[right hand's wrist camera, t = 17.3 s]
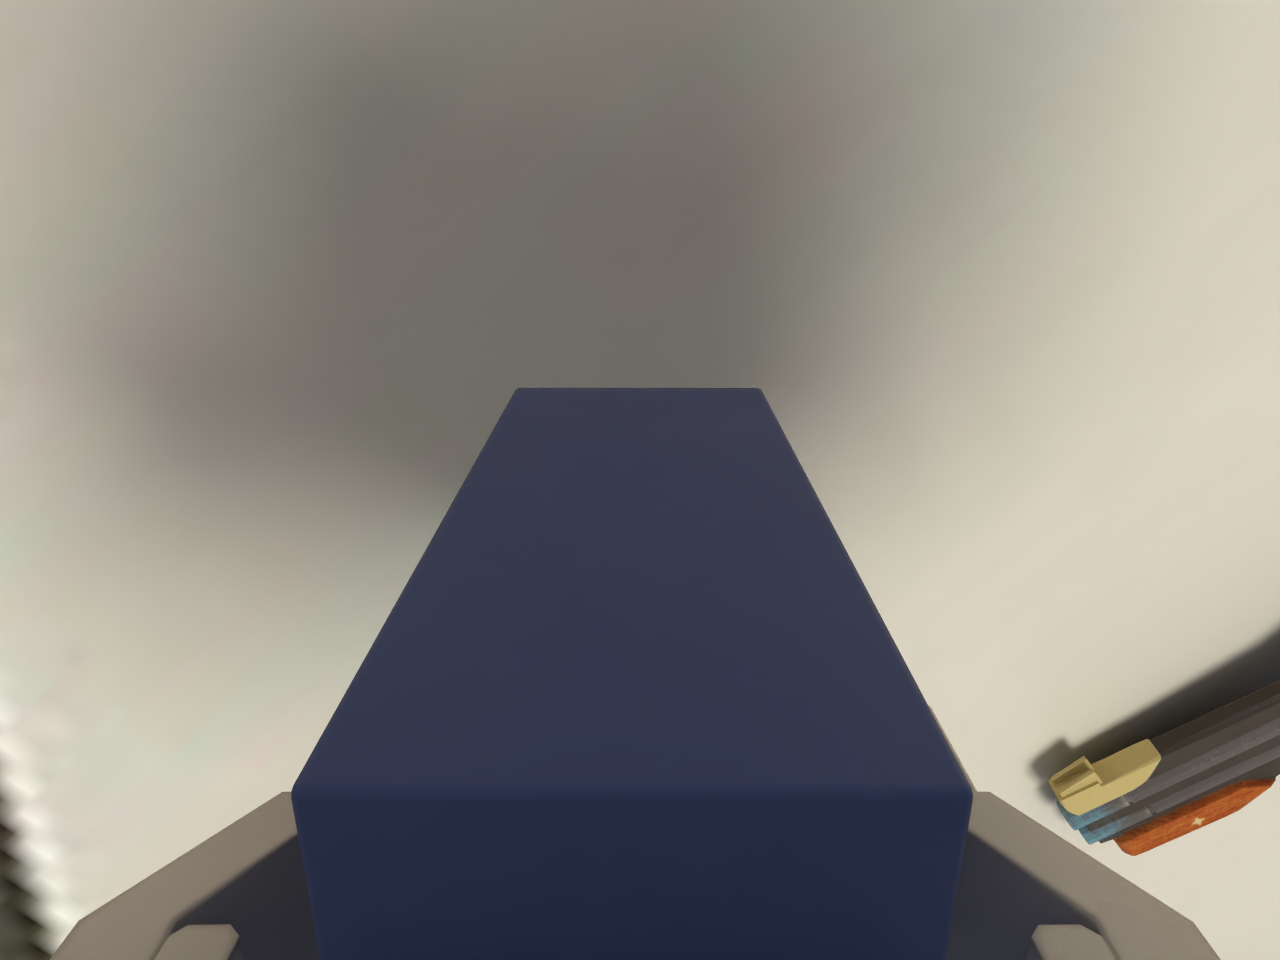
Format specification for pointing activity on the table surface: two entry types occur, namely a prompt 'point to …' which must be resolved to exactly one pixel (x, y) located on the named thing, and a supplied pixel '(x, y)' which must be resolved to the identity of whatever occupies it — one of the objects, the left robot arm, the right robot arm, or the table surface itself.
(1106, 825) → the toy gun
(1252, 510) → the table surface
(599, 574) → the brick
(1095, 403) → the table surface
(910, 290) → the table surface
